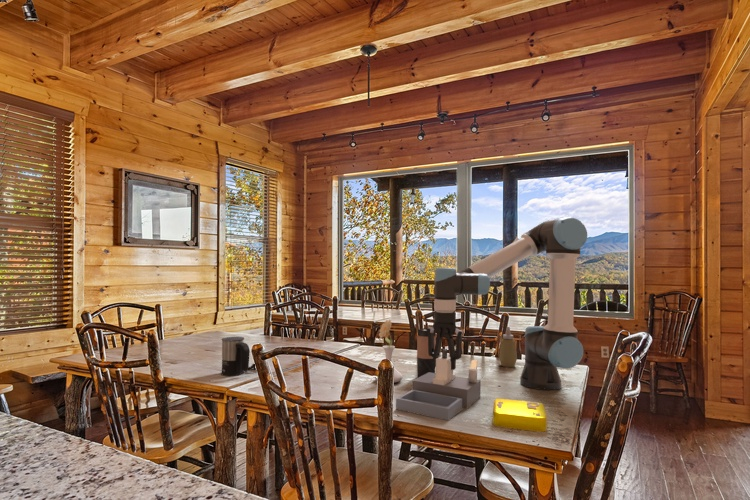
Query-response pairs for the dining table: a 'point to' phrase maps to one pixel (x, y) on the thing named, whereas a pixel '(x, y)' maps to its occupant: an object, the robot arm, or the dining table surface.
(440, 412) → the tray
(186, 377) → the dining table surface
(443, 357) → the plug
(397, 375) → the flower in vase
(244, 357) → the milk frother
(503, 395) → the dining table surface
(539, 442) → the dining table surface
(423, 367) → the travel mug
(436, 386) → the socket block
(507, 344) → the squeeze bottle
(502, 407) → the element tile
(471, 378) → the clip
